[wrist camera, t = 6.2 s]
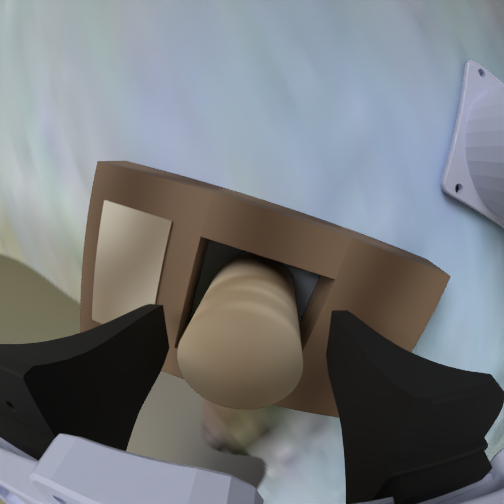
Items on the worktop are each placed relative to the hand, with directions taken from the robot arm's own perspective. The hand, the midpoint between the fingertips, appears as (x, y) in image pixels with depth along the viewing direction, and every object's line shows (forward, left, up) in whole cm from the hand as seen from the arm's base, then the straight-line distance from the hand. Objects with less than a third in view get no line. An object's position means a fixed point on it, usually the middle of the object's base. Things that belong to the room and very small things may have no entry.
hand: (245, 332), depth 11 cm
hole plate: (0, 0, -4) cm, 4 cm away
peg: (0, 0, -4) cm, 4 cm away
